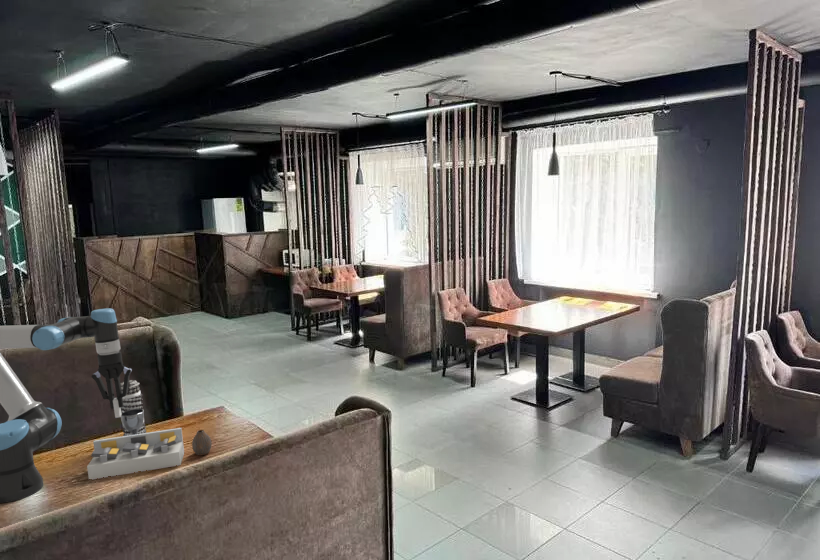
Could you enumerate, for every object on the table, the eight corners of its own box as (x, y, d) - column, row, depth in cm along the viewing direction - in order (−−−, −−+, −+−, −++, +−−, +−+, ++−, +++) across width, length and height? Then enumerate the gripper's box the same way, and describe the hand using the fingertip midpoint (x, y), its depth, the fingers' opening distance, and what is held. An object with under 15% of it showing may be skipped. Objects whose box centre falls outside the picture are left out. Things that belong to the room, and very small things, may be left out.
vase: (196, 458, 208) (194, 436, 207) (190, 453, 213) (188, 431, 212) (215, 452, 212) (212, 430, 211) (208, 447, 217) (206, 426, 216)
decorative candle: (131, 447, 222) (124, 386, 219) (118, 443, 227) (110, 383, 224) (152, 438, 230) (145, 379, 226) (139, 434, 235) (132, 377, 231)
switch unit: (88, 480, 195) (85, 452, 194) (97, 466, 206) (94, 440, 205) (180, 465, 203) (177, 438, 202) (184, 452, 214) (181, 427, 212)
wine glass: (138, 453, 216) (134, 416, 214) (120, 452, 217) (115, 415, 215) (152, 444, 223) (147, 408, 221) (134, 444, 225) (130, 408, 223)
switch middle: (122, 452, 200) (123, 447, 200) (125, 447, 204) (126, 441, 204) (146, 454, 202) (147, 449, 202) (148, 449, 207) (149, 443, 207)
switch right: (154, 453, 203) (152, 448, 202) (156, 447, 207) (154, 443, 207) (176, 444, 204) (174, 439, 204) (178, 439, 209) (176, 434, 209)
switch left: (91, 457, 197) (91, 452, 197) (95, 452, 202) (95, 446, 202) (116, 458, 199) (116, 453, 199) (119, 453, 204) (120, 447, 204)
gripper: (85, 357, 192) (95, 423, 195) (126, 352, 195) (136, 416, 198) (91, 352, 199) (101, 415, 202) (131, 347, 202) (140, 409, 205)
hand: (118, 416), depth 200 cm, fingers closed
